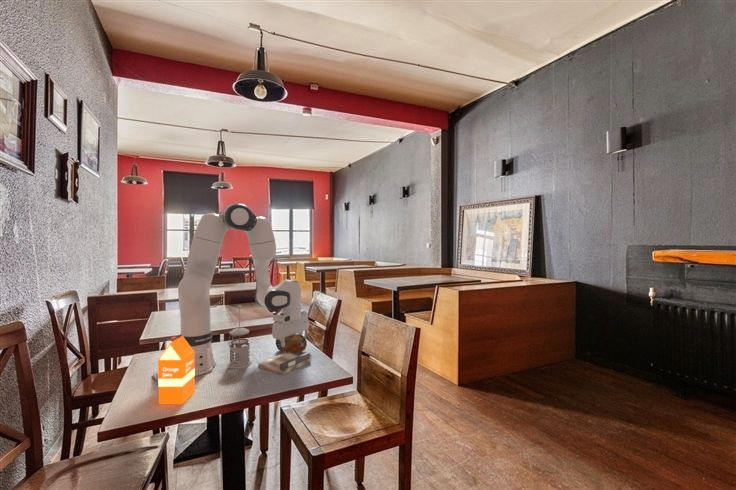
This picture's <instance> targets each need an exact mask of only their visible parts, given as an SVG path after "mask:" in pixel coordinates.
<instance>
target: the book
mask: <svg viewBox="0 0 736 490" xmlns="http://www.w3.org/2000/svg"><path fill="white" fill-rule="evenodd" d="M298 356H300V355H299V354H297V353H288V352H283V353H281V354H279V355H276V356H274V357H272V358H268V359H266V360H264V361H261V362H259V363H258V364H257V365H258V368H261V369H263V370H267V371H269V372H273V373H276V374H279V375H285V374H287V373H290V372H292V371H294V370H296V369H298V368H300V367H303V366H304V365H306V364H307V365H308V363H311V358H310V359H307V360H305V361H303V362H301V363H298V364H296V365H294V366H292V367H289V368H287V369H285V370H283V371H282V370H280V364H281V363H284V362H286V361H288V360H291V359H293V358H296V357H298Z"/></svg>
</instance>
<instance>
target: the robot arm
mask: <svg viewBox="0 0 736 490" xmlns="http://www.w3.org/2000/svg"><path fill="white" fill-rule="evenodd" d="M230 229H231V230H235V231H243V232H244V233H245V234H246V236H247V239H248V246H249V251H250V255H251V259H252V264H253V269H254V277H255V283H256V286H255V291H254V297H253V298H254V301H255V303H256V304H257V305H258V306H259V307H263V308H264V309H267V310H270V311H279V310H280V311H279V312H277V313H276V314H274V315H273V317H272V321H273V323H272V330H271V332H272V333H271V334H272V338H274V339H275V340H276V339H279V340H280V342H281V345H282V347H286V346H287V345H286V344H287V343H286V342H285V341H284V340H285V337H288V336H291V335H293V334H300V335H303V334H304V332H305V331H307V330H308V329H309V317H308V312H307V311H305V310H302V305H301V301H302V300H301V299H302V290H301V288H302V287H301V284H300V282H299V281H297V280H295V279H294V280H293V279H286V278H285V279H283V280H281V282H280V283H278V284H276V285H275V286H273V285H272V283H271V279H270V278H271V277H270V269H269V268H270V267H269V266H270V264H271V263H270V262H271V261H272V260H273V259H274V258H275V257H276V255H277V244H276V239H275V234H274V231H273V228H272V225H271V222H270V220H269V219H268V218H266V217H265V216H257V215H255V213H254V212H253V211H252V210H251V208H250V207H249V206H248V205H246V204H244V203H239V202H238V203H237V202H233V203H231V204H229V205H227V206H226V207H225V208H224V209H222V211H220V212H219V213H215V212H208V213H204V214H203V215H202V216H201V218H200V220H199V222H198V224H197V226H196V228H195V230H194V235H193V238H192V241H191V245H190V248H189V251H188V252H189V253H188V255H187V260H186V264H185V269H184V274H183V276H182V279H181V280H180V281H179V283H178V286H177V295H178V305H179V306H178V308H179V314H180V316H179V317H180V320H179V321H180V334H179V336H177V337H176V336H171V338H170V341H171V342H173V341H175V340H176V339H178V338H180V337H181V336H183V337H184V338H185V340H186V341H187V342H188V344H189V345H190V347H191V348H192V349H193V351H194V367H195V377H197V376H200V375H201V376H202V375H205V374H208V373H210V372H212V371H213V368H215V366H216V362H215V358H214V354H213V347H212V342H213V332H212V329H211V327H212V326H211V300H210V299H211V298H210V297H211V295H210V288H211V286H212V282H213V278H214V275H215V270H216V268H217V267H216V266H217V264H218V260H219V256H220V252H221V249H222V246H223V241H224V238H225V235H226V233H227V232H228V231H229V230H230ZM152 377H153V378H154V379H155V380H156V381H158V370H156V371H153V373H152Z"/></svg>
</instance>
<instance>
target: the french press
mask: <svg viewBox="0 0 736 490" xmlns="http://www.w3.org/2000/svg"><path fill="white" fill-rule="evenodd" d="M242 308H243V307H242V305H240V304H239V305H237V306H236V309H238V327H236V328H233V329H232V330H230V331H229V332H228V334H229V336H228V340H230V338H231V336H232V338H231V341H230V342H228V346H229V347H228V348H229V362H228V364H227V368H230V369H231V370H232V369H237V370H238V369H243V368H247V367H249V366H251V365H252V364H253V362H252V360H250V343H249V339H247V338H241V336H245V335H248V334H249V333H250V329H247V328H245V327H241V325H240V324H241V321H240V319H241V317H240V316H241V315H240V311H241V310H240V309H242ZM235 337H238V338H236V339H234V338H235Z"/></svg>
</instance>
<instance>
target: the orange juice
mask: <svg viewBox="0 0 736 490" xmlns="http://www.w3.org/2000/svg"><path fill="white" fill-rule="evenodd" d="M177 338H178V337H177ZM157 367H158V368H157V369H158V370H157V371H158V380H157V383H158V384H157V385H158V405H159V404H183V403H184V402H185V401H186V400H187V399H188V398H189V397H190V396H191V395H192V396H193V395H194V394H195V392H196V384H195V383H196V380H195V377H196V376H195V367H194V351H193V349H192V348H191V347H190V345H189V344H188V342H187V341H186V340H185V338H184V337H183V336H181V337H180V338H178V339H176V340H175V341H173V342H172V341H171V342H170V343H169V344H168V346H167V347H166V348H165V350H164V351H163V353H162V354H161V355H160V356H159V359H158V360H157ZM192 396H191V397H192ZM191 397H190V398H191ZM190 398H189V399H190ZM189 399H188V400H189ZM188 400H187V401H188ZM187 401H186V402H187ZM186 402H185V403H186ZM185 403H184V404H185ZM184 404H183V405H184Z"/></svg>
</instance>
